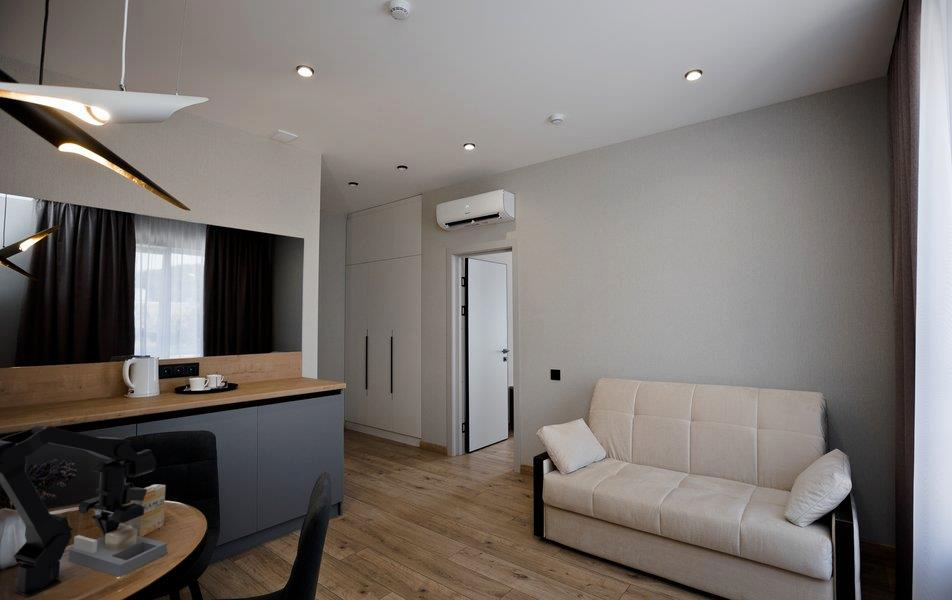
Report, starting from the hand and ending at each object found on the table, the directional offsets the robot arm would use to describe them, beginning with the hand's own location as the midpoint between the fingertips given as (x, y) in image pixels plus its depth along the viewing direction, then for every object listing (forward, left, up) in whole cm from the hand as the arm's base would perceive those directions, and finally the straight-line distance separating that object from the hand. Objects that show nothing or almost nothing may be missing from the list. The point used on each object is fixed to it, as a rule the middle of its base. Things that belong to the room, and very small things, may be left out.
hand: (109, 539), depth 124 cm
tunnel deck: (0, -4, -4) cm, 6 cm away
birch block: (0, -4, -1) cm, 4 cm away
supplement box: (+13, +4, -4) cm, 14 cm away
